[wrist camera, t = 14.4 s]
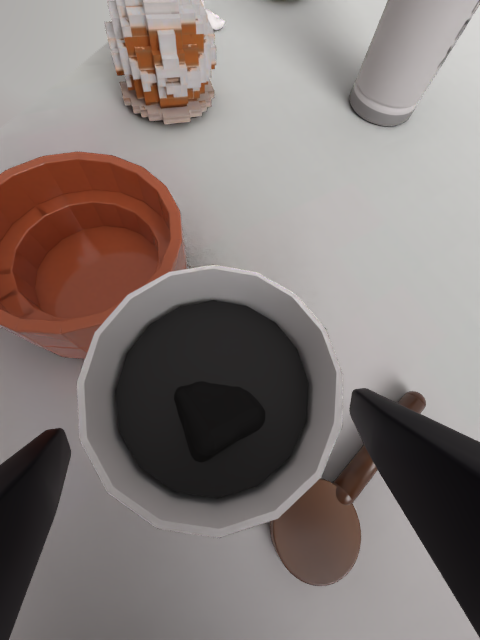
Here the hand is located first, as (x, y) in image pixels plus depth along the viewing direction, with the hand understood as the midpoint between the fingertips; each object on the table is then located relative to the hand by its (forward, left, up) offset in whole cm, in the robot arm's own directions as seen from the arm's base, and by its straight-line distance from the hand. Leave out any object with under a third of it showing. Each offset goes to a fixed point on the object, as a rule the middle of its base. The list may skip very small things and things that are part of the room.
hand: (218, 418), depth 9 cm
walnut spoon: (-2, -8, -8) cm, 11 cm away
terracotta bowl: (+9, +8, -8) cm, 14 cm away
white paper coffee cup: (+1, 0, -8) cm, 8 cm away
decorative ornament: (+27, +6, -8) cm, 29 cm away
